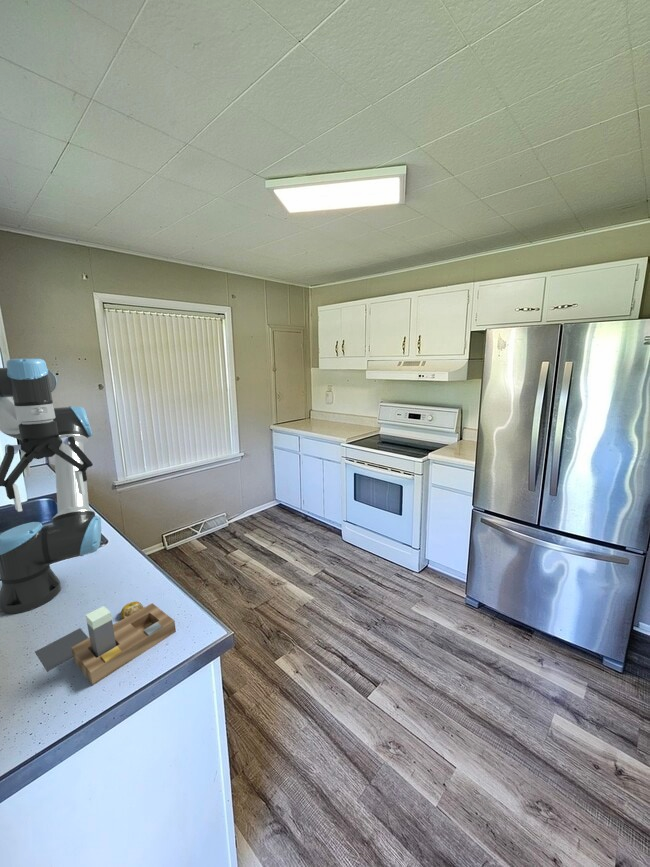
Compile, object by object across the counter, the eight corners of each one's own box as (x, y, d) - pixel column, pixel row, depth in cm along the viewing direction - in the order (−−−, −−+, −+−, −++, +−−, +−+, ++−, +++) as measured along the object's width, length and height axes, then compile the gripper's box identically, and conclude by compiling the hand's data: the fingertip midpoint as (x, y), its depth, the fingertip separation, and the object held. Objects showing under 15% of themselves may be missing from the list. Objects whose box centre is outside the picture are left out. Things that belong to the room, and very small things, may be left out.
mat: (35, 653, 89) (34, 651, 89) (80, 629, 97) (80, 628, 97) (47, 673, 83) (47, 671, 83) (94, 646, 91) (94, 644, 91)
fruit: (125, 632, 96) (123, 620, 96) (112, 619, 101) (111, 608, 101) (155, 615, 103) (154, 604, 102) (142, 604, 108) (140, 593, 107)
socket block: (73, 661, 87) (71, 646, 86) (153, 615, 102) (152, 602, 101) (93, 687, 80) (90, 671, 79) (176, 633, 95) (174, 619, 94)
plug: (93, 658, 86) (85, 615, 84) (110, 647, 90) (103, 605, 87) (99, 666, 84) (92, 622, 82) (117, 655, 87) (110, 612, 85)
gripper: (-29, 431, 76) (-9, 522, 81) (98, 416, 96) (109, 490, 100) (-35, 428, 81) (-16, 514, 85) (87, 414, 100) (99, 485, 104)
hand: (52, 501), depth 92 cm, fingers open, 13 cm apart
